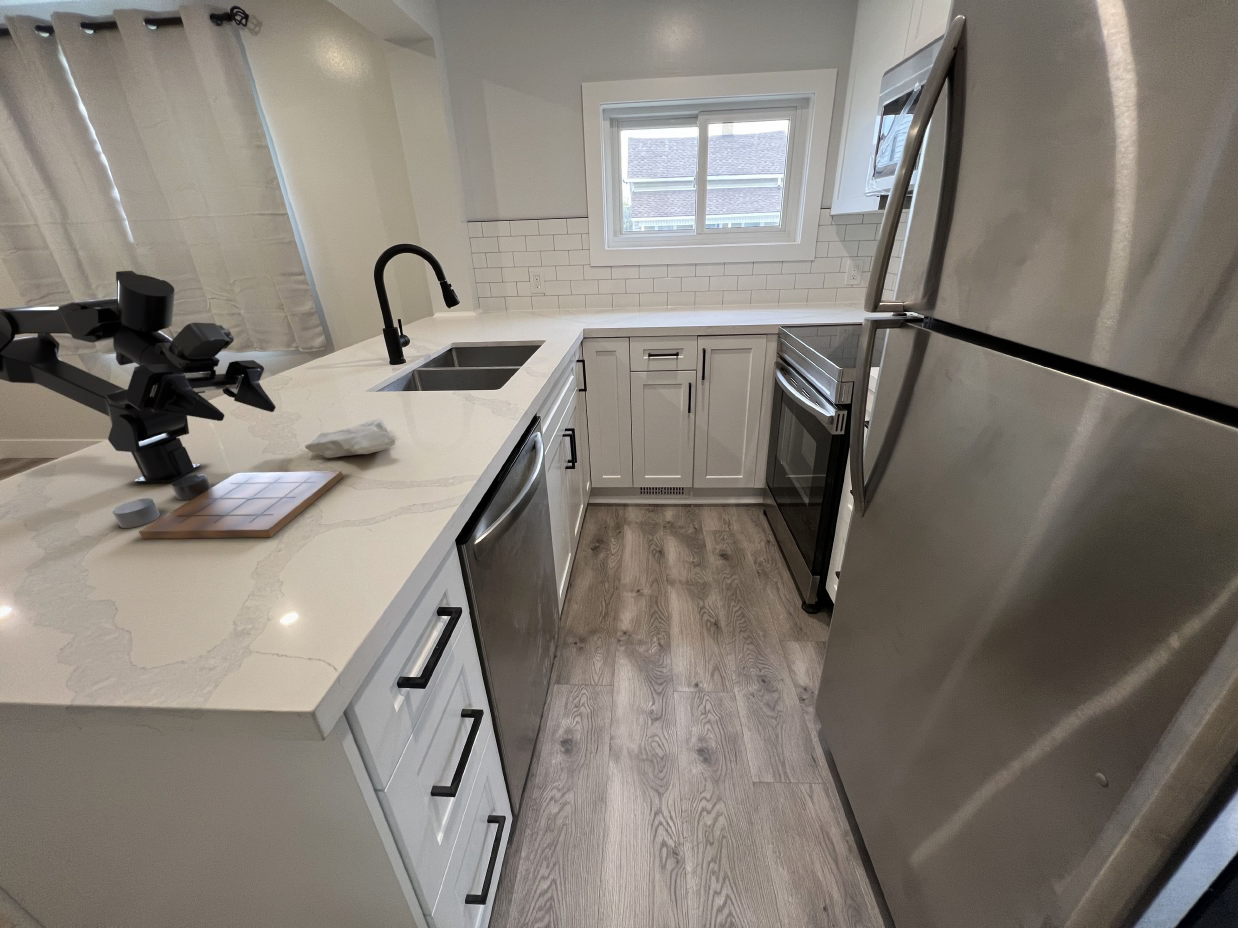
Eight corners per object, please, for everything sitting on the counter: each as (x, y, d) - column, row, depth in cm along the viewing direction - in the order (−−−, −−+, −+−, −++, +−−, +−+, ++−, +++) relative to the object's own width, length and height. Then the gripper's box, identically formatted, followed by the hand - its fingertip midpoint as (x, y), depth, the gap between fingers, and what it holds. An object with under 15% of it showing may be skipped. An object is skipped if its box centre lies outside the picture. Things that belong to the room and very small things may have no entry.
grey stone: (111, 528, 70) (103, 513, 69) (139, 512, 74) (132, 498, 73) (141, 528, 70) (133, 513, 69) (168, 512, 74) (161, 497, 73)
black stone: (170, 500, 77) (163, 486, 76) (193, 487, 81) (187, 474, 80) (197, 500, 77) (191, 486, 76) (219, 487, 81) (213, 473, 80)
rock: (304, 484, 81) (400, 457, 86) (293, 458, 79) (391, 432, 84) (319, 448, 99) (397, 428, 104) (310, 426, 98) (389, 407, 102)
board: (142, 538, 67) (138, 531, 66) (239, 479, 83) (236, 472, 83) (271, 537, 66) (267, 529, 66) (343, 477, 82) (341, 470, 82)
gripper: (105, 304, 63) (210, 372, 64) (233, 312, 81) (314, 365, 82) (83, 377, 66) (184, 442, 67) (211, 369, 84) (289, 420, 85)
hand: (249, 413), depth 75 cm, fingers open, 9 cm apart
